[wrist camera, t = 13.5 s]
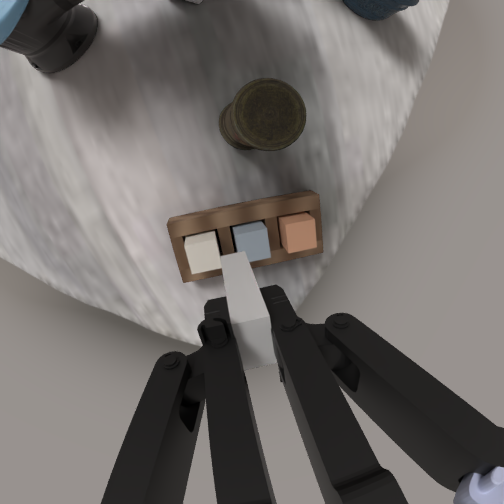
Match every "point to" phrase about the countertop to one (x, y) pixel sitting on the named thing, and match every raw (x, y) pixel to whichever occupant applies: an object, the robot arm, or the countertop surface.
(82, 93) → the countertop surface
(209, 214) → the key panel
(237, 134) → the container
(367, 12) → the canister
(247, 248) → the slate key
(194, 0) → the juice carton
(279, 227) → the terracotta key
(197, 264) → the ivory key
